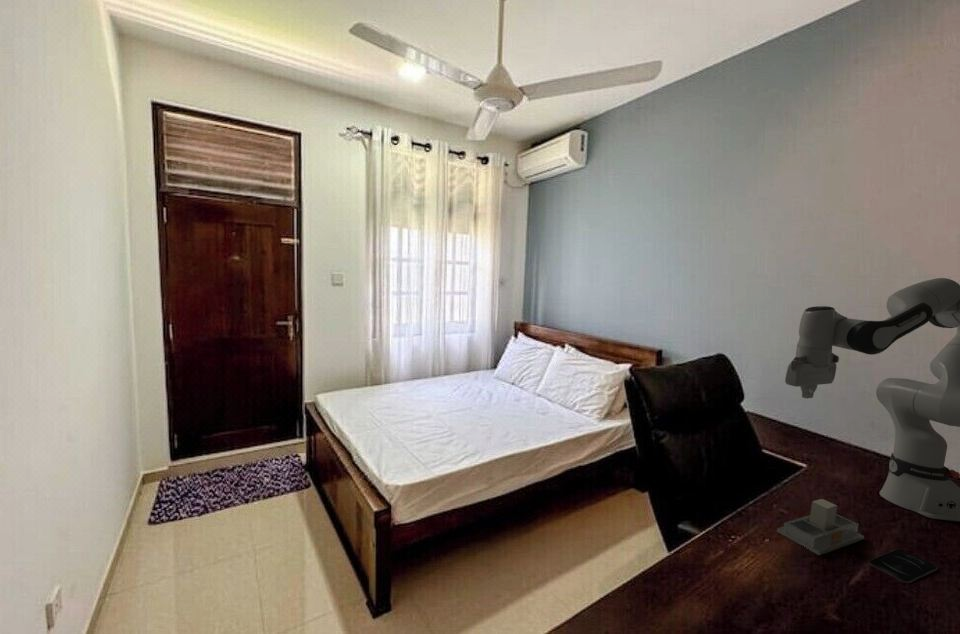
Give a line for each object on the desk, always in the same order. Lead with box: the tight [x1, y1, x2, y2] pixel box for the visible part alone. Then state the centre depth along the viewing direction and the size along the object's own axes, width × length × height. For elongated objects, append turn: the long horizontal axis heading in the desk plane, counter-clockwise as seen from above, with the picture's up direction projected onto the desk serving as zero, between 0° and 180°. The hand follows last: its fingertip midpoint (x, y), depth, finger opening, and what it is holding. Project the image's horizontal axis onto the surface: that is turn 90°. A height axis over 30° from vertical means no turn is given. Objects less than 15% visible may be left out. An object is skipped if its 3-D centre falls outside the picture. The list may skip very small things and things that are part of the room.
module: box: [809, 498, 838, 531], centre depth 110 cm, size 4×4×8 cm
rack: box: [776, 513, 865, 556], centre depth 110 cm, size 20×10×4 cm, turn 113°
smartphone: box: [868, 548, 938, 584], centre depth 99 cm, size 8×1×15 cm
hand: (807, 397), depth 133 cm, fingers closed
